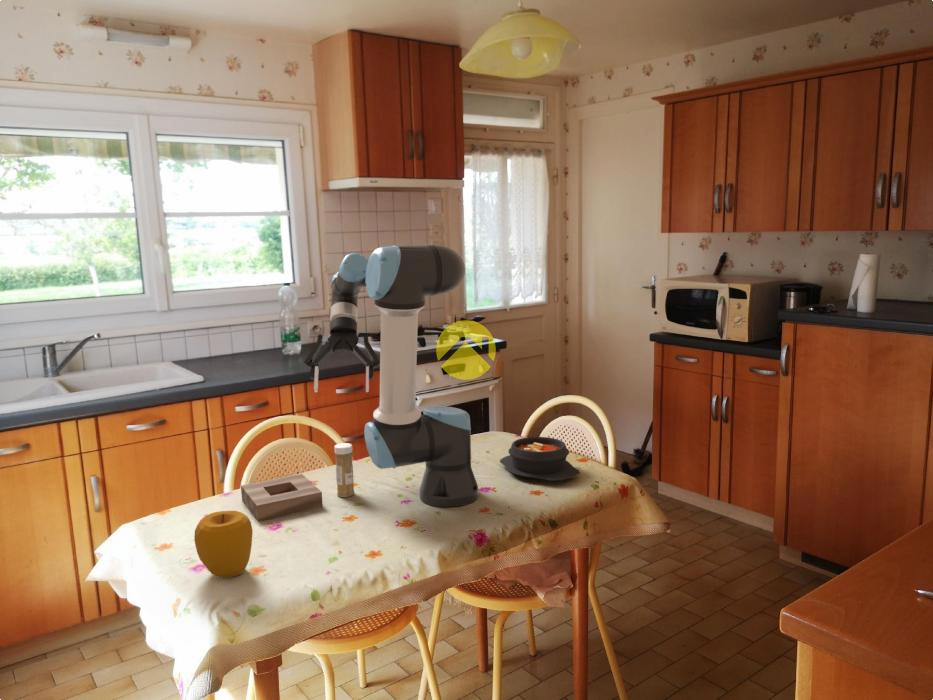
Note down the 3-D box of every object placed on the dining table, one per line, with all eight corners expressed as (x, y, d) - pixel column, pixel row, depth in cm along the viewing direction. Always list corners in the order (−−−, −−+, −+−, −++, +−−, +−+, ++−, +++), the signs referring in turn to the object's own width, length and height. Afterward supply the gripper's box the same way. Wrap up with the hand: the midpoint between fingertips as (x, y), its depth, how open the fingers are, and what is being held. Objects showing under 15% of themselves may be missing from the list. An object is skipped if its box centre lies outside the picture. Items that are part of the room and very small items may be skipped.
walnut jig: (322, 507, 175) (321, 491, 174) (257, 521, 167) (256, 505, 166) (302, 487, 188) (301, 473, 188) (241, 500, 180) (240, 485, 180)
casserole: (594, 476, 193) (595, 447, 192) (546, 493, 182) (546, 461, 180) (532, 455, 213) (531, 428, 211) (484, 468, 201) (484, 440, 200)
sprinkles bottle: (355, 496, 181) (352, 446, 179) (337, 498, 180) (334, 448, 178) (353, 490, 186) (351, 441, 184) (336, 492, 185) (333, 443, 183)
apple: (186, 581, 138) (180, 520, 136) (223, 558, 148) (218, 500, 146) (231, 591, 134) (226, 527, 132) (266, 565, 144) (262, 506, 142)
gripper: (388, 329, 202) (388, 395, 192) (299, 328, 199) (295, 396, 189) (388, 315, 196) (388, 383, 186) (297, 314, 193) (292, 384, 183)
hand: (341, 390), depth 188 cm, fingers open, 13 cm apart
